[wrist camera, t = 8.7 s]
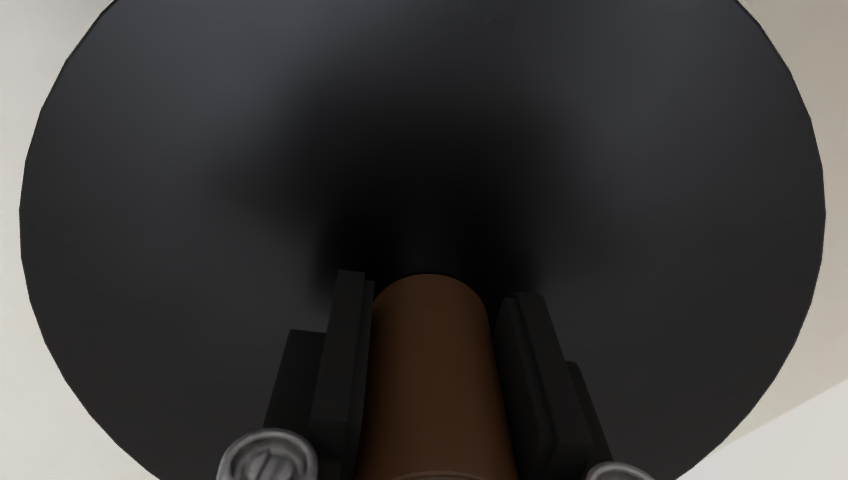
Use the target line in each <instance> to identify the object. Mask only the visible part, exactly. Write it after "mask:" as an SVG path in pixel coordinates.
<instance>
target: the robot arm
mask: <svg viewBox="0 0 848 480" xmlns="http://www.w3.org/2000/svg"><path fill="white" fill-rule="evenodd" d="M364 279H365V273H364V272H356V271H348V270H340V269H339V270H338V275H337V280H336V285H335V290H334V295H333V301H332V306H331V311H330V316H329V322H328V327H327V332H326V333H322V332H313V331H304V330H296V329H291V330H290V331H289V334H288V338H287V341H286V345H285V348H284V352H283V356H282V359H281V363H280V366H279V370H278V373H277V377H276V381H275V384H274V388H273V391H272V395H271V399H270V402H269V406H268V409H267V413H266V416H265V420H264V424H263V427H262V429H258V430H255V431H252V432H249V433H246V434H245V435H243V436H241V437H240V438H238V439H236V440H235V441H234V442H233V443H232V444H231V445H230V446H229V447H228V448H227V449H226V451H225V453H224V455H223V457H222V459H221V462H220V465H219V469H218V473H217V477H216V479H215V480H353V478H354V472H355V465H356V459H357V453H358V446H359V440H360V433H361V426H362V417H363V408H364V397H365V386H366V375H367V363H368V352H369V341H370V330H371V319H372V308H373V297H374V285H375V281H371V280H364ZM492 342H493V348H494V353H495V358H496V363H497V368H498V374H499V379H500V384H501V389H502V395H503V400H504V405H505V410H506V415H507V421H508V426H509V431H510V436H511V442H512V447H513V452H514V457H515V462H516V468H517V473H518V478H519V480H655V479H654V478H653V477H651V476H650V475H649V474H647V473H646V472H644V471H642V470H640V469H638V468H637V467H635V466H633V465H629V464H626V463H622V462H614V460H613V457H612V454H611V452H610V449H609V446H608V444H607V441H606V438H605V435H604V433H603V430H602V427H601V424H600V422H599V419H598V416H597V414H596V411H595V408H594V405H593V403H592V400H591V397H590V395H589V392H588V389H587V386H586V384H585V381H584V378H583V375H582V373H581V370H580V368H579V366H578V364H577V363H575V362H573V361H565V358H564V355H563V352H562V349H561V346H560V343H559V341H558V338H557V335H556V332H555V329H554V326H553V323H552V320H551V317H550V314H549V311H548V308H547V305H546V302H545V300H544V297H543V295H539V294H531V293H523V292H514V294H513V296H512V298H508V297H505V298H504V299H503V301H502V304H501V308H500V311H499V315H498V319H497V322H496V326H495V330H494V333H493V337H492Z"/></svg>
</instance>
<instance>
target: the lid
mask: <svg viewBox="0 0 848 480" xmlns="http://www.w3.org/2000/svg"><path fill="white" fill-rule="evenodd" d="M19 219H20V245H21V260H22V265H23V269H24V274H25V279H26V284H27V289H28V294H29V299H30V303H31V306H32V309H33V311H34V314H35V317H36V320H37V322H38V325H39V328H40V331H41V333H42V336H43V339H44V342H45V344H46V346H47V348H48V349H49V351H50V353H51V355H52V357H53V359H54V361H55V363H56V364H57V366H58V368H59V370H60V372H61V374H62V376H63V378H64V379H65V381H66V382H67V384H68V385H69V387H70V388H71V389H72V391H73V392H74V394H75V395H76V396H77V398H78V399H79V401H80V402H81V403H82V405H83V406H84V408H85V409H86V410H87V412H88V413H89V415H90V416H91V417H92V418H93V419H94V420H95V421H96V422H97V423H98V424H99V425H100V427H101V428H102V429H103V430H104V431H105V432H106V433H107V434H108V435H109V436H110V437H111V439H112V440H113V441H114V442H115V443H116V444H117V445H118V446H119V447H120V448H122V449H123V450H124V451H125V452H126V453H127V454H128V455H130V456H131V457H132V458H133V459H134V460H135V461H137V462H138V463H139V464H140V465H141V466H142V467H143V468H145V469H146V470H147V471H148V472H150V473H151V474H152V475H154V476H155V477H157V478H158V479H160V480H215V479H216V477H217V473H218V469H219V465H220V462H221V459H222V457H223V455H224V453H225V451H226V449H227V448H228V447H229V446H230V445H231V444H232V443H233V442H234V441H235V440H236V439H238V438H240V437H241V436H243V435H245V434H246V433H249V432H252V431H255V430H258V429H262V427H263V424H264V420H265V416H266V413H267V409H268V406H269V402H270V399H271V395H272V391H273V388H274V384H275V381H276V377H277V373H278V370H279V366H280V363H281V359H282V356H283V352H284V348H285V345H286V341H287V338H288V334H289V331H290V330H291V329H296V330H304V331H313V332H322V333H326V332H327V327H328V322H329V316H330V311H331V306H332V301H333V295H334V290H335V285H336V280H337V275H338V270H339V269H340V270H348V271H356V272H364V273H365V279H364V280H371V281H375V285H374V297H373V308H372V319H371V330H370V341H369V352H368V363H367V375H366V386H365V397H364V408H363V417H362V426H361V433H360V440H359V446H358V453H357V459H356V465H355V472H354V478H353V480H519V478H518V473H517V468H516V462H515V457H514V452H513V447H512V442H511V436H510V431H509V426H508V421H507V415H506V410H505V405H504V400H503V395H502V389H501V384H500V379H499V374H498V368H497V363H496V358H495V353H494V348H493V342H492V337H493V333H494V330H495V326H496V322H497V319H498V315H499V311H500V308H501V304H502V301H503V299H504V298H505V297H508V298H512V296H513V294H514V292H523V293H531V294H539V295H543V297H544V300H545V302H546V305H547V308H548V311H549V314H550V317H551V320H552V323H553V326H554V329H555V332H556V335H557V338H558V341H559V343H560V346H561V349H562V352H563V355H564V358H565V361H573V362H575V363H577V364H578V366H579V368H580V370H581V373H582V375H583V378H584V381H585V384H586V386H587V389H588V392H589V395H590V397H591V400H592V403H593V405H594V408H595V411H596V414H597V416H598V419H599V422H600V424H601V427H602V430H603V433H604V435H605V438H606V441H607V444H608V446H609V449H610V452H611V454H612V457H613V460H614V462H622V463H626V464H629V465H633V466H635V467H637V468H638V469H640V470H642V471H644V472H646V473H647V474H649V475H650V476H651V477H653V478H654V479H655V480H676V479H677V478H679V477H680V476H682V475H683V474H685V473H686V472H687V471H689V470H690V469H692V468H693V467H694V466H695V465H696V464H698V463H699V462H700V461H701V460H702V459H703V458H705V457H706V456H707V455H708V454H709V453H710V452H712V451H713V450H714V449H715V448H716V447H717V446H719V445H720V444H721V443H722V442H723V441H724V440H725V439H726V438H727V437H728V436H729V435H730V434H731V432H732V431H733V430H734V429H735V428H736V427H737V426H738V425H739V424H740V423H741V422H742V421H743V420H744V419H745V418H746V416H747V415H748V414H749V413H750V412H751V411H752V409H753V408H754V407H755V405H756V404H757V403H758V401H759V400H760V399H761V397H762V396H763V395H764V393H765V392H766V391H767V389H768V388H769V387H770V385H771V384H772V382H773V381H774V380H775V378H776V376H777V375H778V373H779V371H780V369H781V367H782V366H783V364H784V362H785V360H786V359H787V357H788V355H789V353H790V352H791V350H792V348H793V346H794V345H795V343H796V340H797V338H798V335H799V333H800V330H801V328H802V325H803V323H804V320H805V318H806V315H807V313H808V310H809V308H810V305H811V303H812V299H813V295H814V290H815V286H816V282H817V278H818V274H819V270H820V266H821V262H822V253H823V242H824V231H825V220H826V209H825V195H824V181H823V168H822V163H821V159H820V155H819V151H818V147H817V143H816V139H815V134H814V130H813V126H812V122H811V118H810V116H809V114H808V111H807V109H806V107H805V104H804V102H803V100H802V97H801V95H800V93H799V90H798V88H797V86H796V83H795V81H794V79H793V77H792V74H791V72H790V70H789V68H788V67H787V65H786V64H785V62H784V61H783V59H782V57H781V56H780V54H779V53H778V51H777V50H776V48H775V47H774V45H773V44H772V42H771V41H770V39H769V38H768V36H767V35H766V33H765V31H764V30H763V28H762V27H761V25H760V24H759V23H758V22H757V20H756V19H755V18H754V17H753V16H752V15H751V14H750V13H749V12H748V11H747V10H746V9H745V8H744V6H743V5H742V4H741V3H740V2H739V1H738V0H114V1H113V2H112V3H111V4H110V5H109V6H108V7H107V8H106V9H105V10H104V11H102V12H101V13H100V15H99V16H98V18H97V19H96V20H95V22H94V23H93V24H92V26H91V27H90V28H89V30H88V31H87V32H86V34H85V35H84V36H83V38H82V39H81V40H80V42H79V43H78V45H77V46H76V47H75V49H74V50H73V51H72V53H71V54H70V55H69V57H68V58H67V59H66V61H65V63H64V65H63V67H62V69H61V71H60V73H59V75H58V77H57V79H56V81H55V83H54V85H53V87H52V89H51V91H50V93H49V95H48V96H47V98H46V100H45V102H44V104H43V106H42V108H41V111H40V114H39V117H38V121H37V124H36V127H35V130H34V134H33V137H32V140H31V144H30V147H29V150H28V153H27V157H26V160H25V167H24V175H23V183H22V191H21V199H20V207H19Z"/></svg>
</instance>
